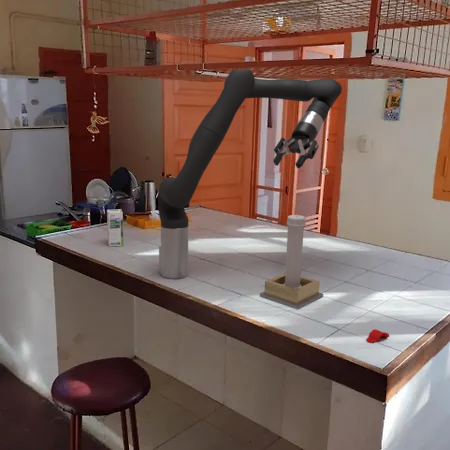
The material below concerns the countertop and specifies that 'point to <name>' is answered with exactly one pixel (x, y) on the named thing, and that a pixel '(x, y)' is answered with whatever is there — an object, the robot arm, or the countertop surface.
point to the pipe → (294, 250)
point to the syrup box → (115, 227)
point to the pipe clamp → (376, 336)
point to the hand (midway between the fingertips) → (286, 165)
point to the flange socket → (292, 292)
